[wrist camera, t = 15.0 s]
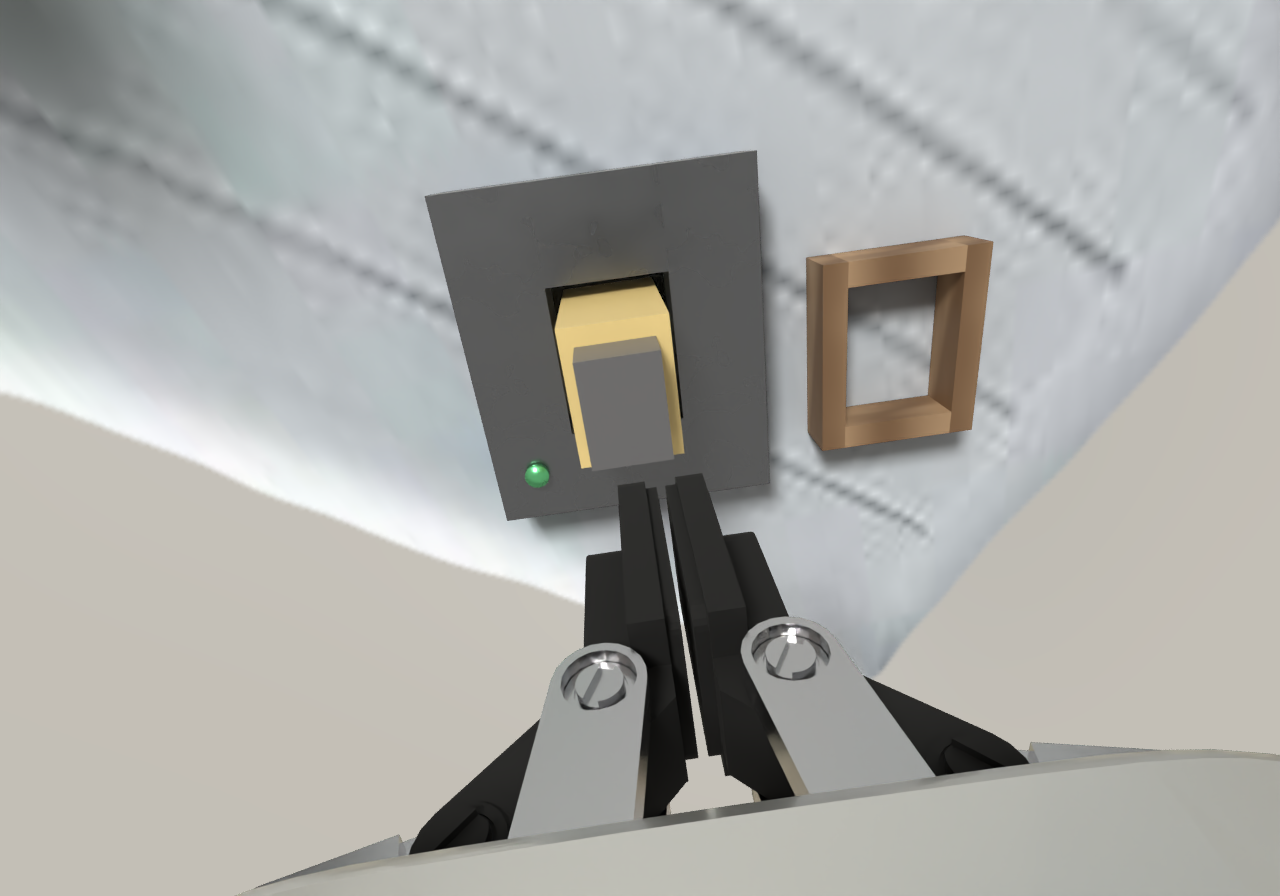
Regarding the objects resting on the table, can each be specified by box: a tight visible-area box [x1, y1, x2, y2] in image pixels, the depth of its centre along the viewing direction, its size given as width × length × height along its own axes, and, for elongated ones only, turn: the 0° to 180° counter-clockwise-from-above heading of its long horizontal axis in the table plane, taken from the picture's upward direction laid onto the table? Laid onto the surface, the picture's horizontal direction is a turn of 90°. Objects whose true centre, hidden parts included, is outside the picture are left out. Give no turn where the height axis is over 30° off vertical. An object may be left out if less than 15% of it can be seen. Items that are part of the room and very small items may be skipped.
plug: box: [555, 277, 684, 471], centre depth 28 cm, size 4×6×10 cm
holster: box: [806, 236, 993, 451], centre depth 32 cm, size 8×10×2 cm
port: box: [425, 150, 770, 521], centre depth 30 cm, size 14×16×3 cm
